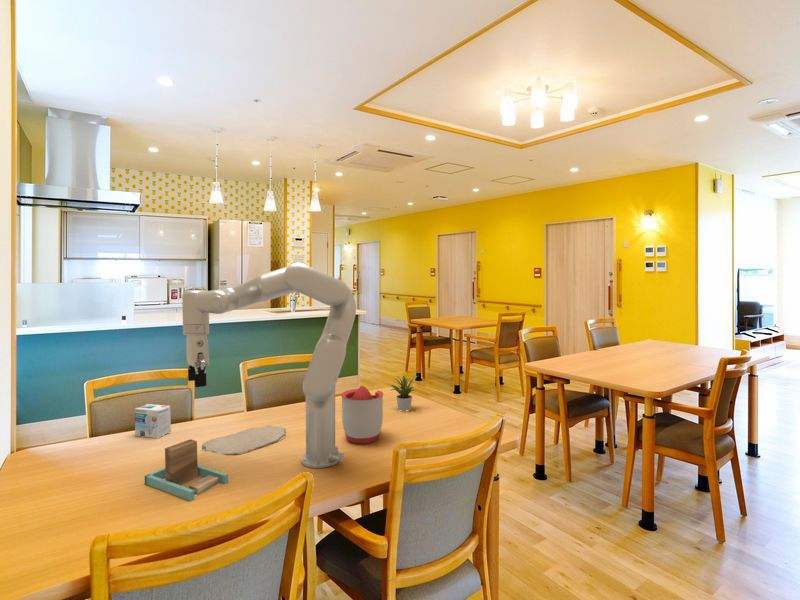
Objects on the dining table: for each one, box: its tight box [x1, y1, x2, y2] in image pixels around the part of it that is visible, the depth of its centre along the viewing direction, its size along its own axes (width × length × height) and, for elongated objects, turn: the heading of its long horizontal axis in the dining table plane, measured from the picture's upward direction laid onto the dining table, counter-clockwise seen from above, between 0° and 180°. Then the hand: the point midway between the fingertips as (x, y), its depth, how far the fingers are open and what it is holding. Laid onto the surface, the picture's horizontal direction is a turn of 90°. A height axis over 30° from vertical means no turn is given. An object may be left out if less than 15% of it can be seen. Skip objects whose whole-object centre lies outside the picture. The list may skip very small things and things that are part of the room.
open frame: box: [144, 464, 229, 502], centre depth 127 cm, size 20×12×4 cm, turn 61°
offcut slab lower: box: [194, 483, 221, 498], centre depth 123 cm, size 4×8×2 cm, turn 152°
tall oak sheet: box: [164, 439, 199, 486], centre depth 127 cm, size 3×8×12 cm, turn 151°
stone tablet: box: [201, 425, 287, 456], centre depth 161 cm, size 16×30×2 cm, turn 137°
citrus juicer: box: [340, 385, 384, 445], centre depth 165 cm, size 16×17×20 cm
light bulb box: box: [134, 403, 172, 439], centre depth 168 cm, size 11×7×11 cm, turn 76°
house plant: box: [387, 374, 419, 411], centre depth 201 cm, size 14×14×16 cm
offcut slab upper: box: [188, 475, 220, 496], centre depth 124 cm, size 4×7×2 cm, turn 155°
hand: (197, 383), depth 139 cm, fingers open, 9 cm apart
